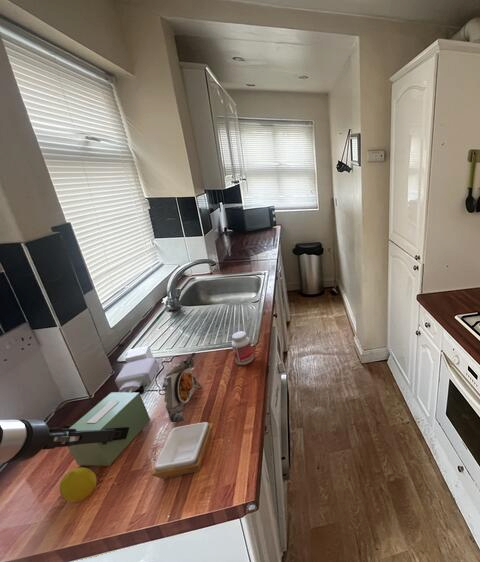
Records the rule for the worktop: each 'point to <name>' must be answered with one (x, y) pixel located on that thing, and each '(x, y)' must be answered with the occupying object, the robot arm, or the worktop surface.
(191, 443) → the soap dish
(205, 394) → the worktop surface
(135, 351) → the white cube
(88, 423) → the tissue box
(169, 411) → the meal
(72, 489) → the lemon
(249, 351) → the pill bottle
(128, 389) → the charger
